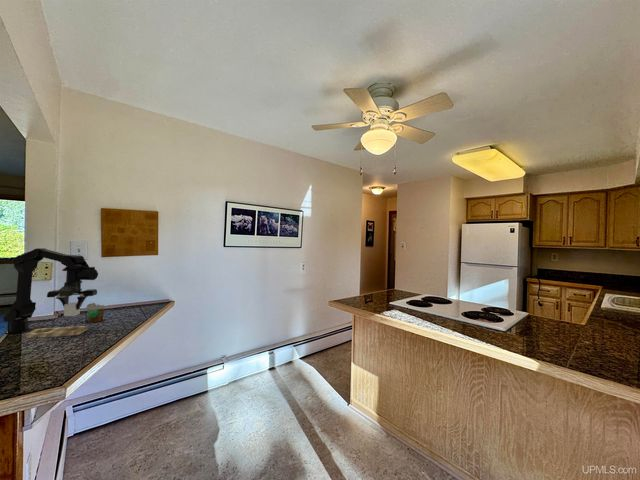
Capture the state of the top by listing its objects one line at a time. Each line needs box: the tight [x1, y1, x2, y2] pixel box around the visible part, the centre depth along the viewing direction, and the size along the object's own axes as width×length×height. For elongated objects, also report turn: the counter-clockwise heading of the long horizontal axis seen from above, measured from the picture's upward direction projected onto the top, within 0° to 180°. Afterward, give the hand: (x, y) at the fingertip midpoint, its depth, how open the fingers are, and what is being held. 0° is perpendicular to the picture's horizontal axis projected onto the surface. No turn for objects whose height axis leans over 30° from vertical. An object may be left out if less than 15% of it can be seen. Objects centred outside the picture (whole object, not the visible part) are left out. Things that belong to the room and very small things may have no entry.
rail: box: [24, 325, 89, 339], centre depth 136 cm, size 21×9×2 cm, turn 109°
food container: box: [85, 302, 105, 324], centre depth 158 cm, size 12×6×10 cm, turn 62°
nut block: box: [63, 301, 81, 317], centre depth 138 cm, size 5×5×6 cm
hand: (72, 309), depth 138 cm, fingers closed on nut block, 5 cm apart
